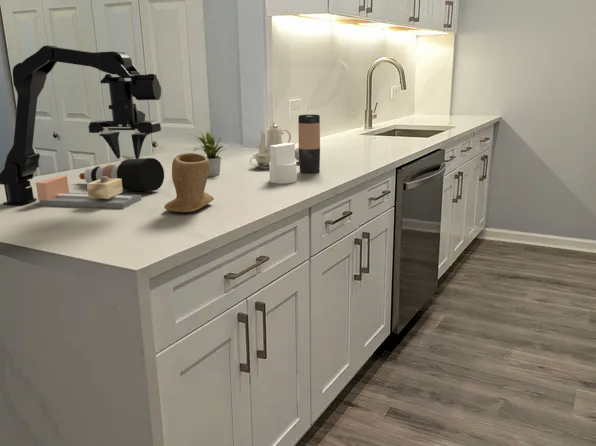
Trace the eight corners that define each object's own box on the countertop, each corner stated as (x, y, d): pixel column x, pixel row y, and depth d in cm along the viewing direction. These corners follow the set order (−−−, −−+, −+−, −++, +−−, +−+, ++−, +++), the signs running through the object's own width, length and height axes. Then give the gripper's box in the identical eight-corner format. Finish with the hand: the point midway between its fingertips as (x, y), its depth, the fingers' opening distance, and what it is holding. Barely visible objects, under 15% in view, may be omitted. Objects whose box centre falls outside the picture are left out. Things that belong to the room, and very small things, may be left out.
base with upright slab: (283, 176, 187) (283, 142, 183) (302, 180, 181) (301, 144, 177) (264, 180, 181) (262, 145, 177) (282, 184, 175) (281, 147, 171)
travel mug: (324, 171, 195) (324, 115, 189) (310, 174, 189) (309, 116, 184) (308, 169, 200) (308, 114, 194) (294, 172, 194) (293, 115, 189)
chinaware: (263, 176, 197) (264, 130, 192) (236, 165, 209) (237, 122, 203) (319, 165, 215) (321, 124, 209) (291, 157, 227) (293, 117, 221)
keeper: (88, 197, 151) (86, 179, 149) (104, 191, 158) (102, 174, 157) (108, 198, 150) (106, 180, 148) (122, 192, 157) (120, 174, 156)
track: (39, 205, 154) (35, 182, 152) (60, 197, 163) (57, 175, 161) (123, 208, 148) (121, 185, 147) (141, 199, 158) (138, 177, 156)
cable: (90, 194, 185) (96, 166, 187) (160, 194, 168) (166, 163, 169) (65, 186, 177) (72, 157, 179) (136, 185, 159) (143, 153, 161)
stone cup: (198, 217, 139) (194, 159, 134) (158, 214, 142) (153, 157, 138) (225, 203, 152) (222, 150, 148) (188, 200, 156) (184, 148, 152)
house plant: (180, 175, 193) (177, 128, 188) (211, 169, 203) (208, 125, 198) (205, 180, 184) (202, 131, 179) (236, 173, 193) (234, 127, 189)
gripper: (167, 98, 151) (171, 154, 155) (106, 99, 154) (112, 153, 159) (148, 101, 140) (154, 160, 145) (83, 101, 144) (91, 159, 148)
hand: (128, 158), depth 149 cm, fingers open, 5 cm apart
